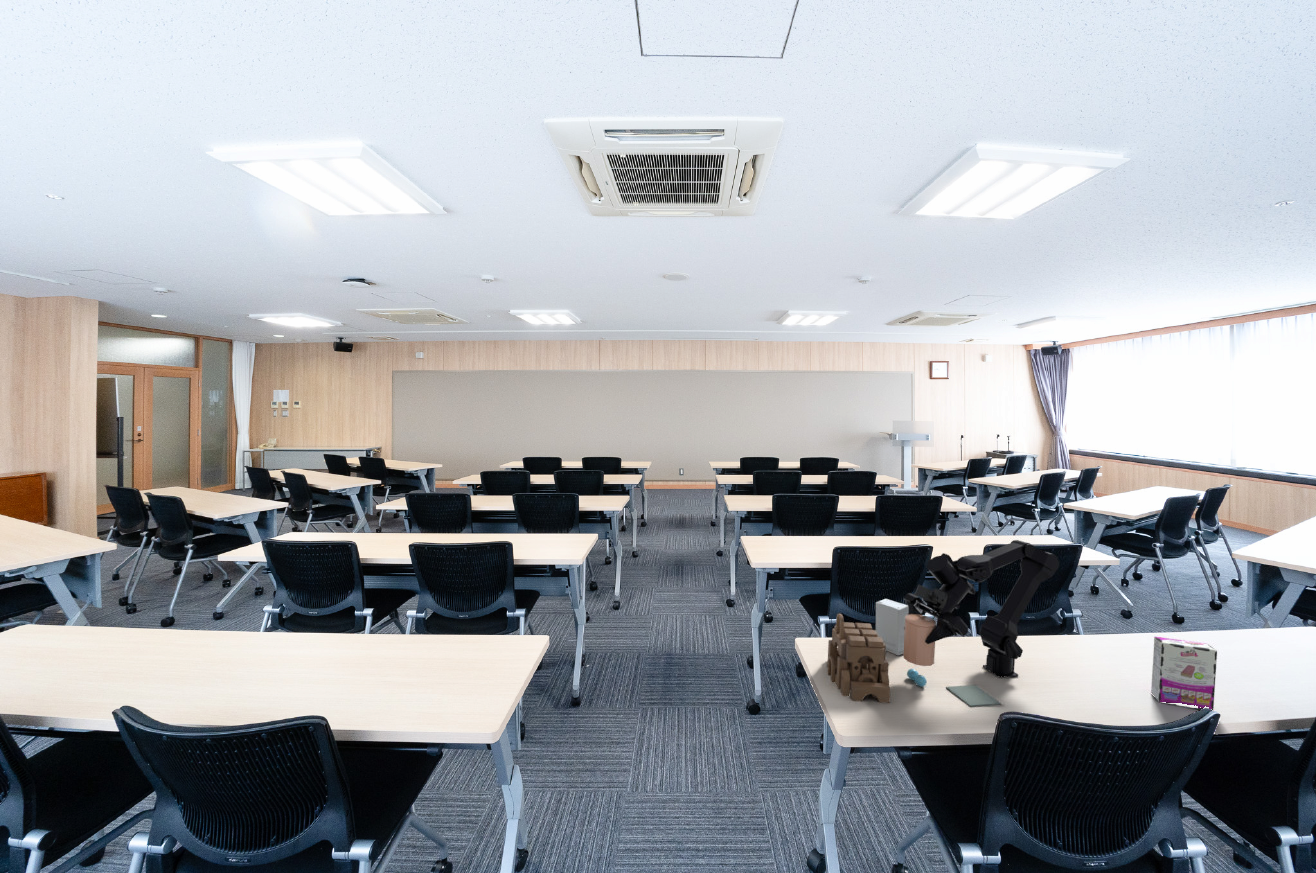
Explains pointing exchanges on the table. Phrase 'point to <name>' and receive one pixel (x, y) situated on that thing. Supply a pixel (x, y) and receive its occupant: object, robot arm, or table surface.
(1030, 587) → the robot arm
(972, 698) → the mat
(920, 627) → the salmon pink cylinder
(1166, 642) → the candy bar box
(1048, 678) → the table surface
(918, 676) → the marble
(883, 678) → the wooden puzzle
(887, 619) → the skincare box
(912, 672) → the marble
